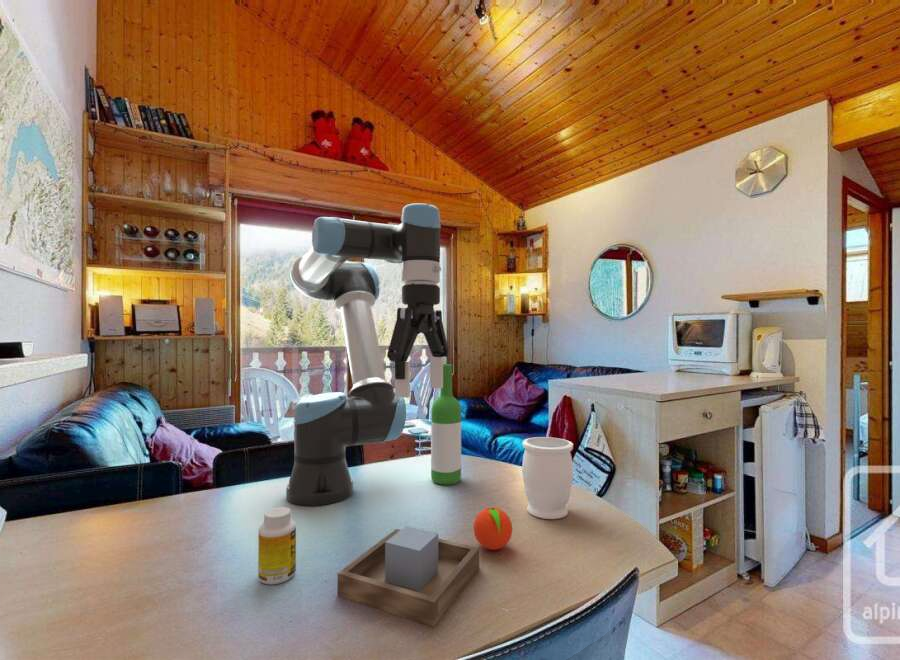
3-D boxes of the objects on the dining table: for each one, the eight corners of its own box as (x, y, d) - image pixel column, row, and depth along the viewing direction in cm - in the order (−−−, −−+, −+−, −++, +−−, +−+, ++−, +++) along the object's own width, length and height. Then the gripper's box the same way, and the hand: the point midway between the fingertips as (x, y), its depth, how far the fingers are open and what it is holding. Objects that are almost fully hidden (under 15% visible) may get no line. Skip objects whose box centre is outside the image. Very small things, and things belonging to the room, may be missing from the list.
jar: (568, 503, 99) (568, 436, 99) (577, 523, 89) (577, 449, 89) (520, 501, 100) (520, 435, 100) (523, 521, 90) (524, 447, 90)
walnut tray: (337, 595, 65) (337, 573, 65) (396, 547, 79) (396, 528, 79) (434, 627, 58) (434, 602, 58) (479, 568, 73) (479, 547, 73)
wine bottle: (467, 480, 114) (467, 364, 114) (447, 488, 109) (447, 366, 108) (444, 473, 120) (445, 362, 119) (424, 481, 114) (424, 364, 114)
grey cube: (385, 581, 67) (385, 542, 67) (405, 562, 73) (405, 526, 73) (419, 591, 65) (419, 550, 65) (438, 571, 70) (438, 533, 70)
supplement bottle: (296, 582, 68) (296, 516, 68) (257, 589, 67) (257, 521, 66) (295, 564, 74) (295, 502, 74) (259, 570, 72) (259, 507, 72)
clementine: (519, 558, 76) (519, 517, 75) (479, 562, 74) (479, 520, 74) (505, 537, 83) (506, 499, 83) (469, 539, 82) (470, 501, 82)
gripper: (404, 277, 74) (403, 403, 74) (463, 289, 97) (463, 385, 97) (367, 279, 78) (367, 399, 78) (433, 290, 100) (433, 383, 100)
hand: (420, 392), depth 87 cm, fingers open, 13 cm apart
